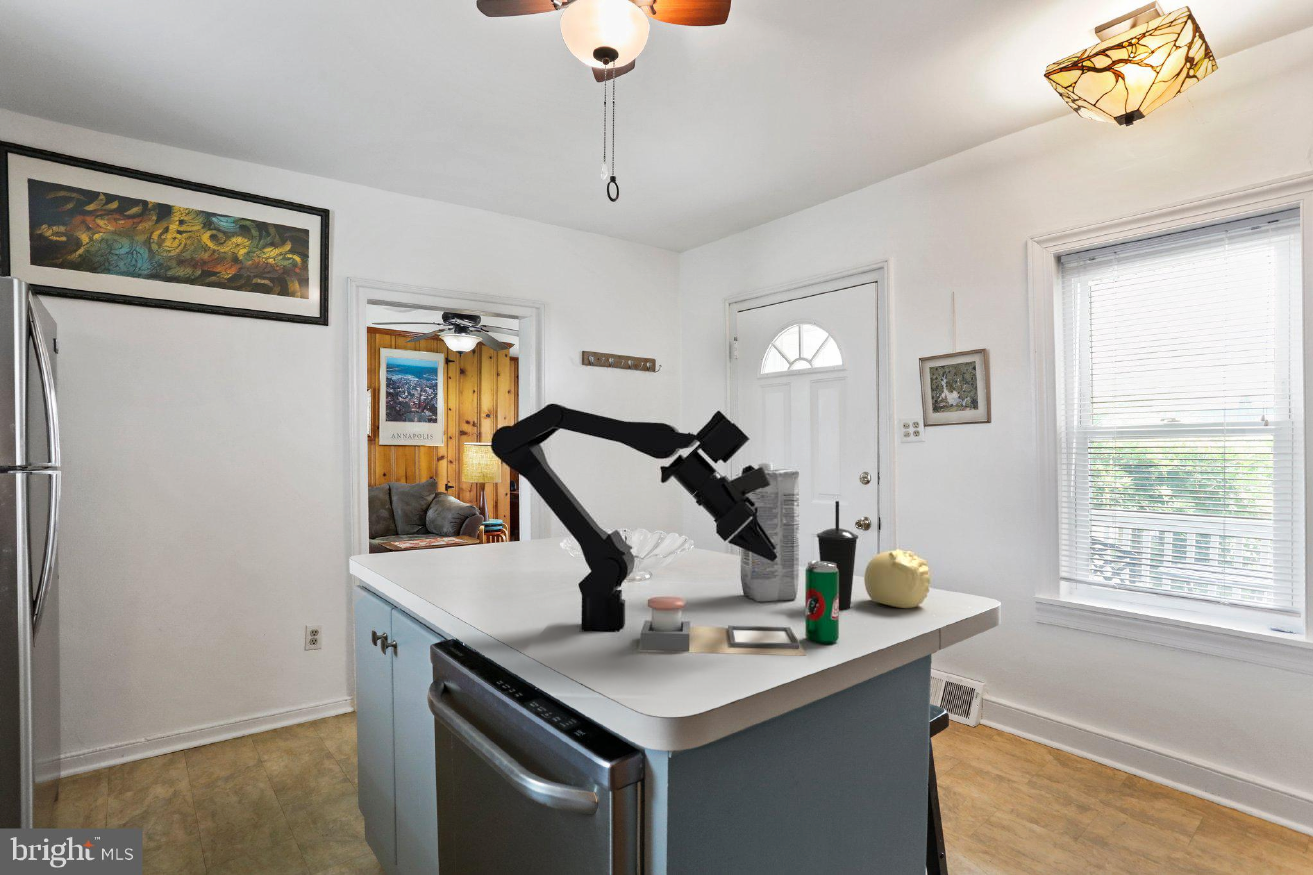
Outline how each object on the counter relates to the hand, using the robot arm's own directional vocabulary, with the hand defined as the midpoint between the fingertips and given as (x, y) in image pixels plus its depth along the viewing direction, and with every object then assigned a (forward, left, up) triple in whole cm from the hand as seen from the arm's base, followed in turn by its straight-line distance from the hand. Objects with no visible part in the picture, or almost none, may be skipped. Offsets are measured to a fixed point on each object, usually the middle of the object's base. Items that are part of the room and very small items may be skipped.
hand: (774, 554), depth 105 cm
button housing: (-17, -7, -12) cm, 22 cm away
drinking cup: (+14, +22, -13) cm, 30 cm away
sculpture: (+26, +25, -13) cm, 39 cm away
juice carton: (+2, +29, -13) cm, 32 cm away
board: (-9, -4, -13) cm, 16 cm away
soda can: (+7, -1, -13) cm, 15 cm away
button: (-17, -7, -10) cm, 21 cm away
